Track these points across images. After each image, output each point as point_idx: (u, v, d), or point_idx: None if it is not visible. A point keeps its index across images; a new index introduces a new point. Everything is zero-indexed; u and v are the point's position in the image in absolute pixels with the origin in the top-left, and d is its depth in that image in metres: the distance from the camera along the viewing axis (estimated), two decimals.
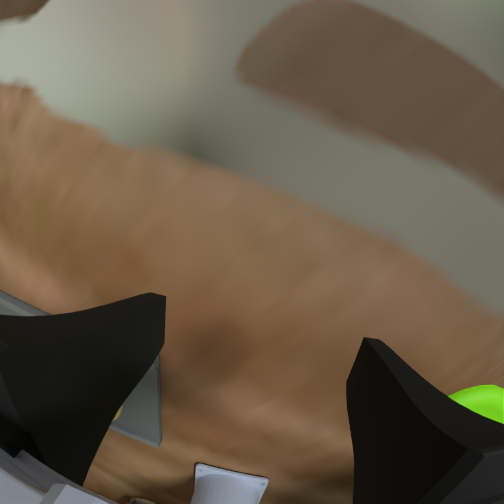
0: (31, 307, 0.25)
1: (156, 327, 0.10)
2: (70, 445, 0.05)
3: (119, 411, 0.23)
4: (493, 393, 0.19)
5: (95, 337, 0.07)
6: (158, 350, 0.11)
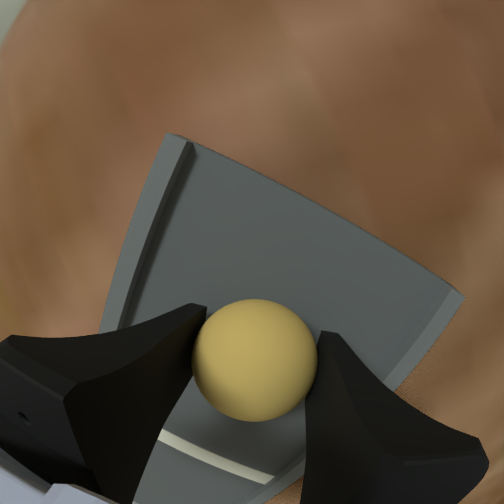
0: None
1: None
2: (124, 472, 0.05)
3: (285, 315, 0.09)
4: None
5: (150, 357, 0.06)
6: None
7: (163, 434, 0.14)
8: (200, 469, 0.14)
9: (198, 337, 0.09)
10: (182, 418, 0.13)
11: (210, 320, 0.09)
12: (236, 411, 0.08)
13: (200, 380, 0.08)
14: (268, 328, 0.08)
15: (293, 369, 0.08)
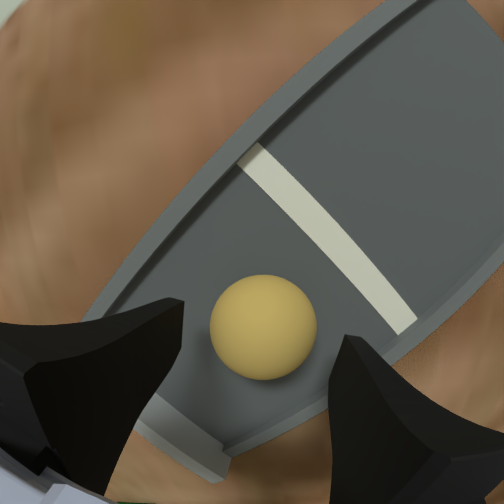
0: None
1: (175, 332, 0.10)
2: (93, 457, 0.05)
3: (291, 287, 0.11)
4: None
5: (119, 346, 0.06)
6: (176, 355, 0.10)
7: (318, 218, 0.12)
8: (331, 297, 0.13)
9: (217, 304, 0.11)
10: (363, 190, 0.11)
11: (228, 290, 0.11)
12: (248, 367, 0.10)
13: (219, 340, 0.10)
14: (277, 296, 0.10)
15: (297, 330, 0.10)
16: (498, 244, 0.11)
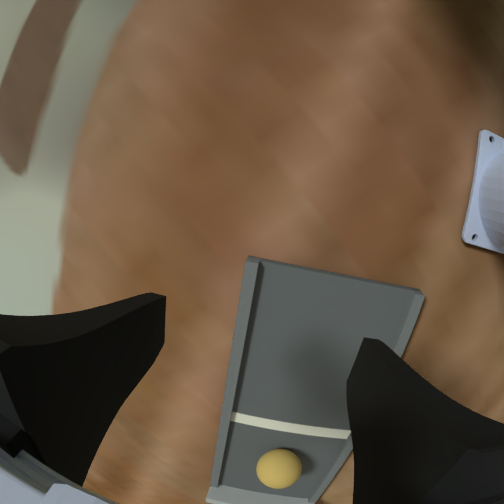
0: None
1: (156, 327, 0.10)
2: (70, 445, 0.05)
3: (277, 458, 0.21)
4: None
5: (95, 337, 0.07)
6: (158, 350, 0.11)
7: (275, 424, 0.23)
8: (303, 441, 0.23)
9: None
10: (286, 408, 0.22)
11: (257, 466, 0.22)
12: (277, 488, 0.20)
13: (263, 483, 0.21)
14: (272, 466, 0.21)
15: (285, 473, 0.20)
16: None
